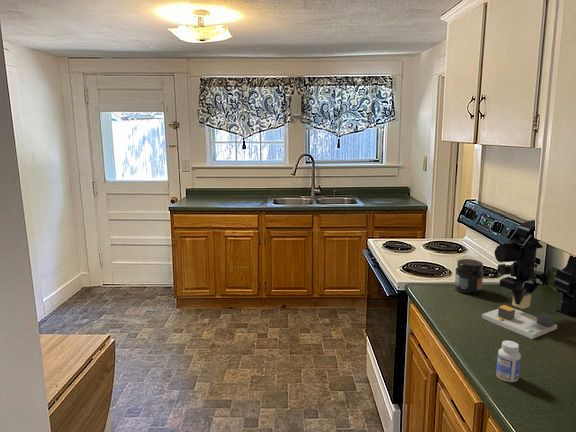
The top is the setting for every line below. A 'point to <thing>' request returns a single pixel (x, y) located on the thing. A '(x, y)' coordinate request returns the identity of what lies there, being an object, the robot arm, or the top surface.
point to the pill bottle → (508, 362)
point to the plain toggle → (545, 319)
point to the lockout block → (523, 301)
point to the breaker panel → (519, 323)
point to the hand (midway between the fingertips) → (521, 303)
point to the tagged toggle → (506, 312)
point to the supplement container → (469, 276)
